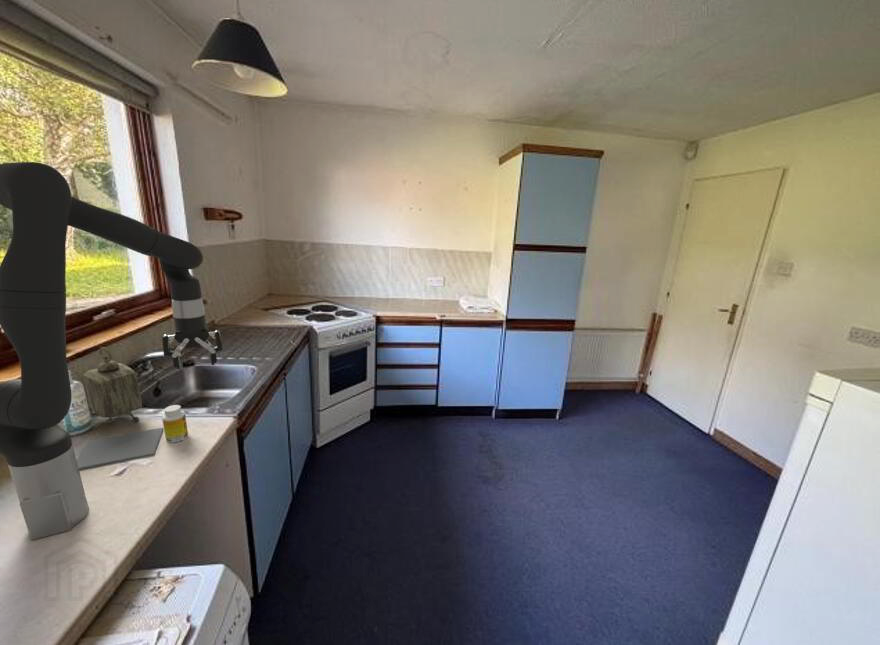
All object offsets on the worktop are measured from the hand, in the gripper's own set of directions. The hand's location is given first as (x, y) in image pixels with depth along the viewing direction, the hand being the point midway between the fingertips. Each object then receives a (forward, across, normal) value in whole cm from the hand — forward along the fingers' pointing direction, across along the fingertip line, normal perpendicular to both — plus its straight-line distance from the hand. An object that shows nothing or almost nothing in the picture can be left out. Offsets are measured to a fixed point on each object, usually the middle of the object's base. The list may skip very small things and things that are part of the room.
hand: (196, 366), depth 108 cm
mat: (+22, -21, 0) cm, 30 cm away
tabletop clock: (+22, -25, +18) cm, 38 cm away
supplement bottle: (+22, -7, -1) cm, 24 cm away
